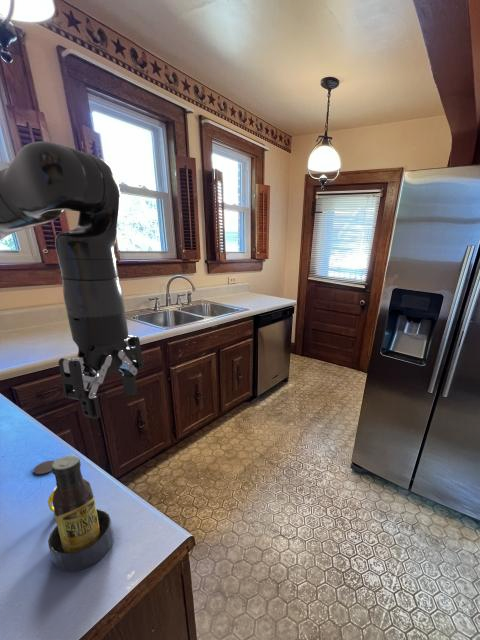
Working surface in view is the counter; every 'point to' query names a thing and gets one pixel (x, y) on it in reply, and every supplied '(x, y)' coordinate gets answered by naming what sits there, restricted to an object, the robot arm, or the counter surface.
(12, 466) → the counter surface
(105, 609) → the counter surface
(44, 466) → the brown flat disc
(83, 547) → the sauce bottle
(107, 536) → the pan
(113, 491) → the counter surface
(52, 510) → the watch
